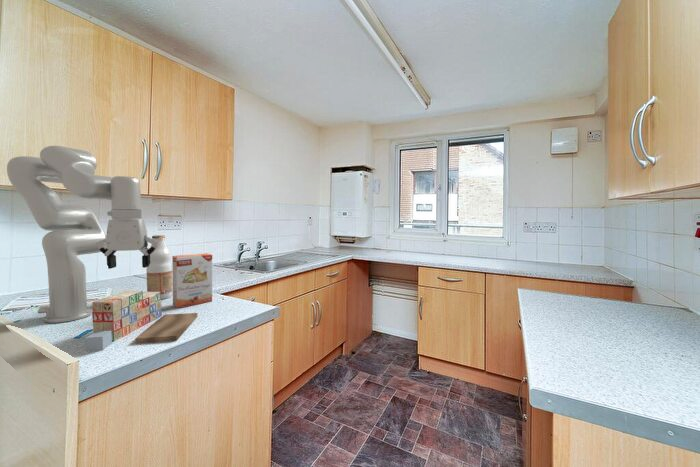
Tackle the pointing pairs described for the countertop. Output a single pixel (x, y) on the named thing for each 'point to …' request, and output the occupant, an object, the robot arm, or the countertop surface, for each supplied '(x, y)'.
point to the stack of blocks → (125, 312)
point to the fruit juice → (160, 269)
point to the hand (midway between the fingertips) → (129, 267)
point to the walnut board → (167, 328)
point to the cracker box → (192, 279)
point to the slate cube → (98, 340)
